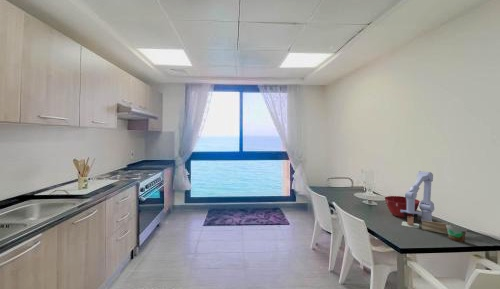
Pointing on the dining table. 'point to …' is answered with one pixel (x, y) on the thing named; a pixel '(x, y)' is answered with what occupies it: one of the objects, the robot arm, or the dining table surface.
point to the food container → (456, 233)
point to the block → (410, 220)
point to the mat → (410, 225)
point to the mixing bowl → (399, 205)
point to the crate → (434, 226)
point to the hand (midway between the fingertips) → (410, 222)
